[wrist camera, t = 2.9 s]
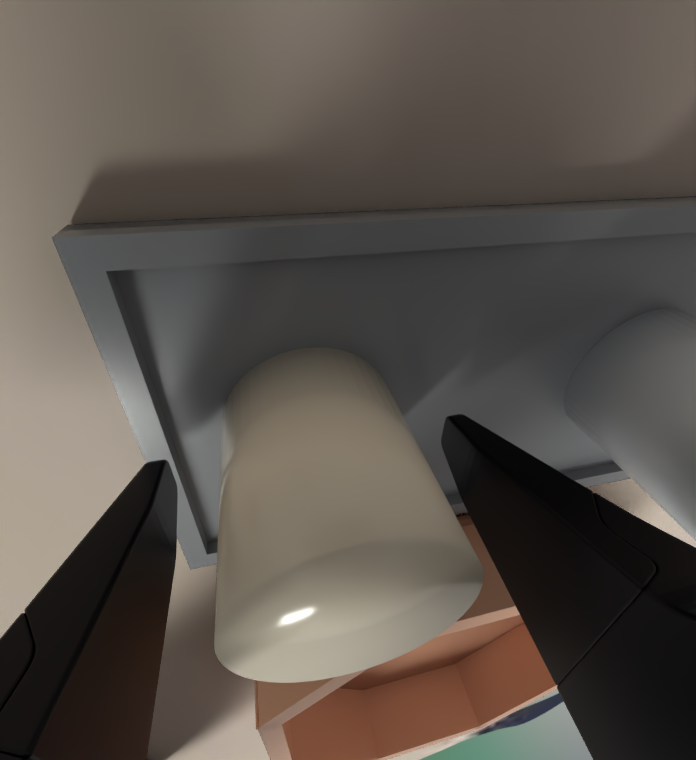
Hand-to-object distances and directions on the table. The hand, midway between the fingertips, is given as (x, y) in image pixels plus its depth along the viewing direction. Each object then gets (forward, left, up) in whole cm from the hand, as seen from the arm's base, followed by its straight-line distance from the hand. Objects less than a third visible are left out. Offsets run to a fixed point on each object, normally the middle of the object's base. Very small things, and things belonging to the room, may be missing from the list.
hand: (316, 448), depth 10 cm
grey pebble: (+10, 0, -1) cm, 10 cm away
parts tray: (+5, 0, -1) cm, 5 cm away
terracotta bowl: (+5, -14, -1) cm, 15 cm away
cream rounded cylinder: (0, 0, -1) cm, 1 cm away
